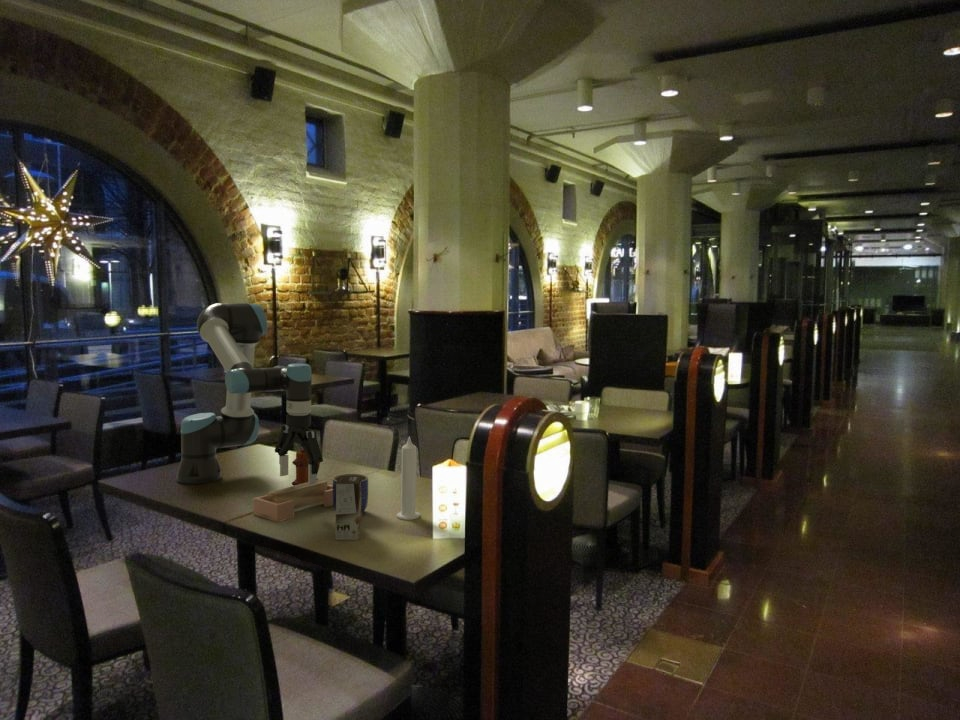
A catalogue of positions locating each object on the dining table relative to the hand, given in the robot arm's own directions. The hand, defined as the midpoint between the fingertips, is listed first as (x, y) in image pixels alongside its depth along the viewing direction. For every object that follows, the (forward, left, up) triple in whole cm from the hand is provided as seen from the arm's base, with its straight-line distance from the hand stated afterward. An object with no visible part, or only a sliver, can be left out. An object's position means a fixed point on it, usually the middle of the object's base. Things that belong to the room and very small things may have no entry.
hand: (298, 479), depth 220 cm
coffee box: (+30, -7, -9) cm, 33 cm away
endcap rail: (0, 0, -9) cm, 9 cm away
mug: (-14, +16, -9) cm, 23 cm away
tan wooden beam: (+1, 0, -8) cm, 8 cm away
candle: (+32, +16, -9) cm, 37 cm away
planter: (+16, +7, -9) cm, 20 cm away
